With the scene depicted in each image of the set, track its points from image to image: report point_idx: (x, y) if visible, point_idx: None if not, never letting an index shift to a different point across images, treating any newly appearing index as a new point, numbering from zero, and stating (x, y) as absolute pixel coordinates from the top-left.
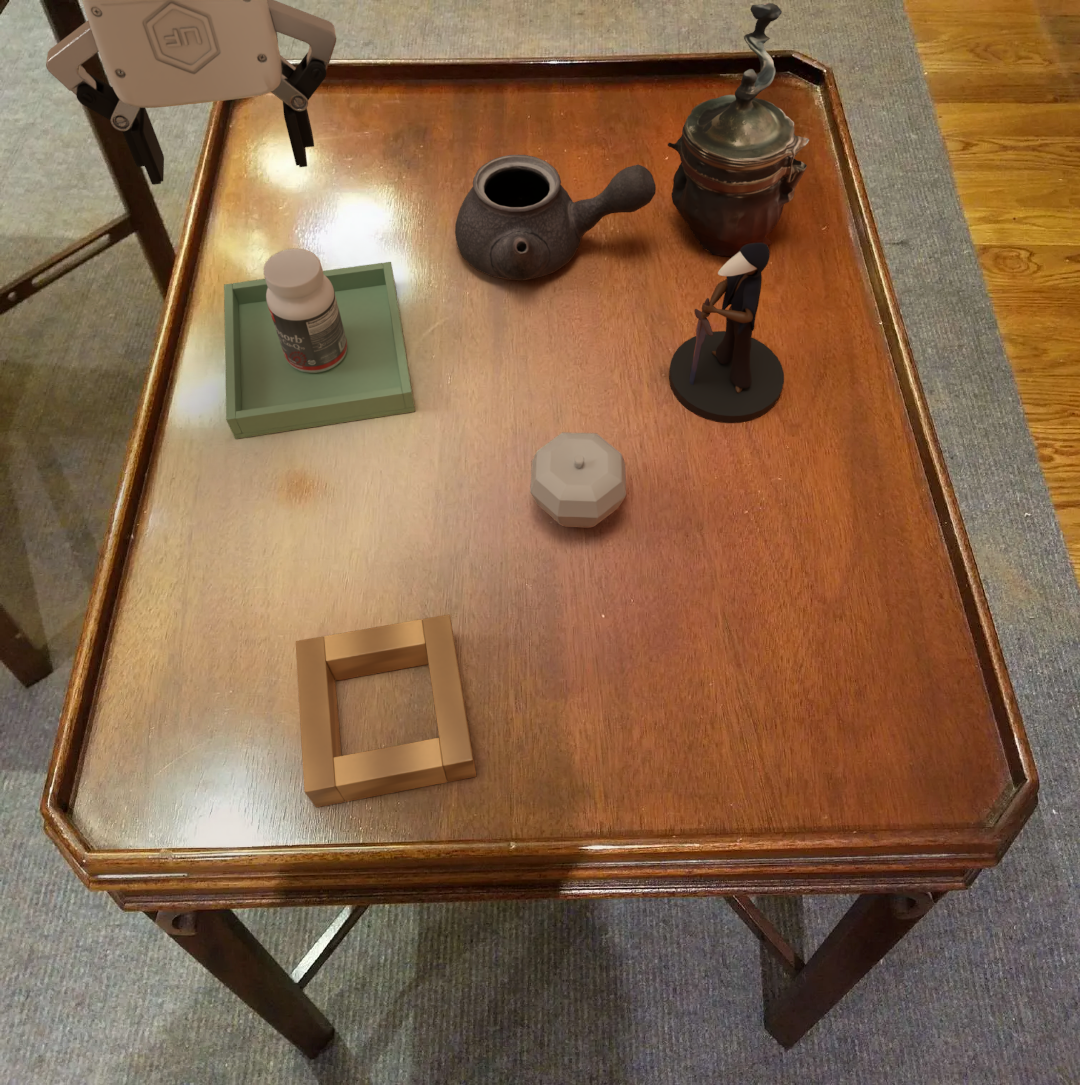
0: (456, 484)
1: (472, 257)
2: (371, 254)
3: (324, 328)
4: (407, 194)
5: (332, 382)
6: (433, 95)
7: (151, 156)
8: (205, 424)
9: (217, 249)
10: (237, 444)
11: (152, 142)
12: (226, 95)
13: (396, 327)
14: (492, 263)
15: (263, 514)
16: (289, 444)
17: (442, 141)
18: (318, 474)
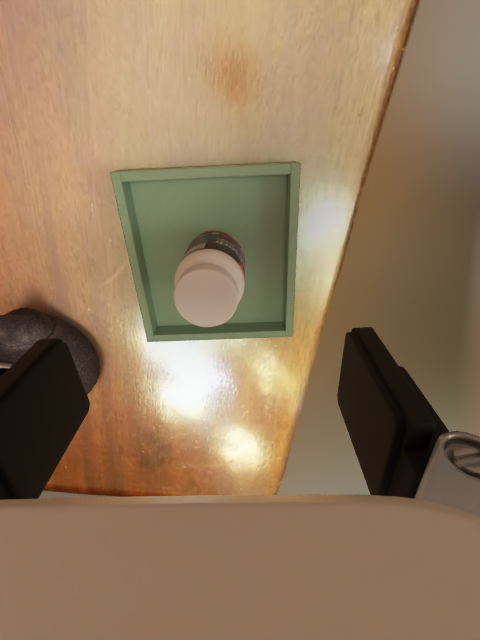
0: (64, 49)
1: (75, 337)
2: (174, 360)
3: (190, 249)
4: (150, 412)
5: (200, 217)
6: (138, 490)
7: (372, 369)
8: (322, 187)
9: (297, 380)
10: (293, 154)
11: (363, 411)
12: (14, 522)
13: (134, 263)
14: (53, 326)
15: (272, 39)
16: (243, 145)
17: (127, 454)
18: (214, 94)
